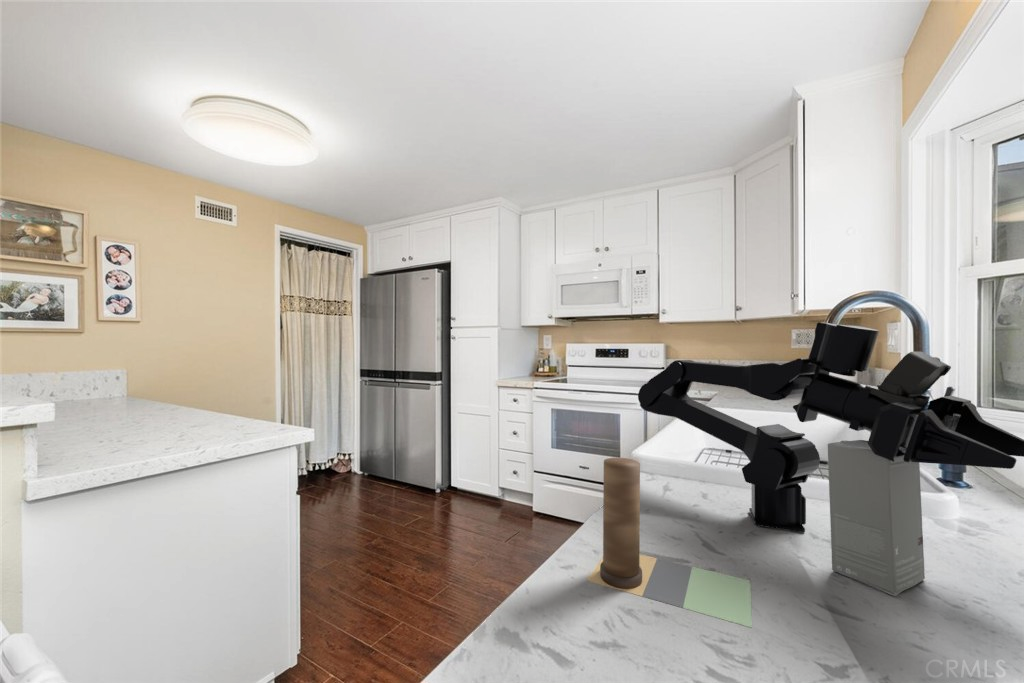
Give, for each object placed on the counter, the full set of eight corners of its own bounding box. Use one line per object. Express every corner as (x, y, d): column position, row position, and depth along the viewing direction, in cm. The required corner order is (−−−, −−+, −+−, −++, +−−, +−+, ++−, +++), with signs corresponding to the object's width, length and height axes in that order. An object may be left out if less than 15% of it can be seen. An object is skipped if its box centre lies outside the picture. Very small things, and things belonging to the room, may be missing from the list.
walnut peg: (596, 583, 46) (597, 465, 47) (603, 563, 51) (604, 455, 51) (640, 592, 45) (641, 470, 45) (643, 571, 49) (644, 459, 49)
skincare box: (896, 599, 46) (895, 454, 46) (822, 568, 52) (823, 441, 52) (929, 580, 50) (929, 446, 50) (857, 553, 56) (857, 434, 56)
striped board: (587, 591, 47) (587, 580, 47) (609, 556, 55) (609, 546, 55) (751, 640, 39) (751, 627, 39) (750, 591, 47) (750, 580, 47)
